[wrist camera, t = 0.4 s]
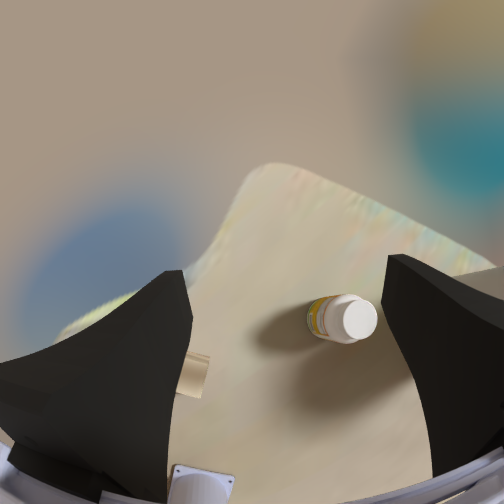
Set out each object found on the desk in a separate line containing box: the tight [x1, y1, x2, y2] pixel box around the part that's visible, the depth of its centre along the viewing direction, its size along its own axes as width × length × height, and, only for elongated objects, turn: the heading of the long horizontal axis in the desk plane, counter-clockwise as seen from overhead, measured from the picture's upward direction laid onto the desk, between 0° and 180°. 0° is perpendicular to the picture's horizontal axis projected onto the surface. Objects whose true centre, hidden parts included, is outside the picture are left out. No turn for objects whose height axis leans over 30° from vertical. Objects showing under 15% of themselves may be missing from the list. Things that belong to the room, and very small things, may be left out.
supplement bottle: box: [307, 294, 377, 344], centre depth 32 cm, size 5×5×10 cm
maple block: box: [176, 351, 209, 398], centre depth 31 cm, size 4×4×5 cm
